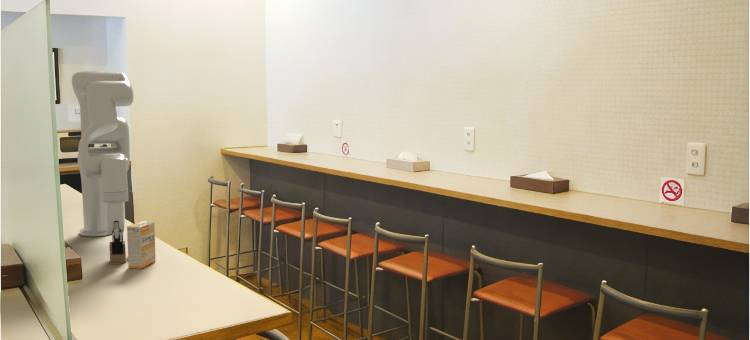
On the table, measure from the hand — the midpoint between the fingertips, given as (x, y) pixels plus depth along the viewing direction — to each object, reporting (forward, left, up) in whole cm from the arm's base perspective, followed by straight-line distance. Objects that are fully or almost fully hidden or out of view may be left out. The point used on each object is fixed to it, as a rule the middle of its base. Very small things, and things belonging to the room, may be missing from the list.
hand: (117, 250), depth 201 cm
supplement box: (+6, +7, -4) cm, 10 cm away
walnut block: (0, 0, -4) cm, 4 cm away
